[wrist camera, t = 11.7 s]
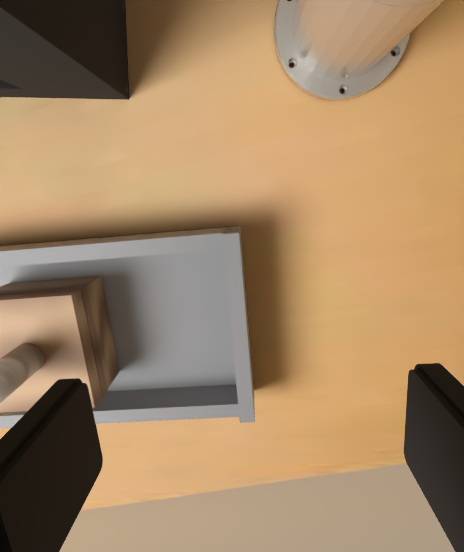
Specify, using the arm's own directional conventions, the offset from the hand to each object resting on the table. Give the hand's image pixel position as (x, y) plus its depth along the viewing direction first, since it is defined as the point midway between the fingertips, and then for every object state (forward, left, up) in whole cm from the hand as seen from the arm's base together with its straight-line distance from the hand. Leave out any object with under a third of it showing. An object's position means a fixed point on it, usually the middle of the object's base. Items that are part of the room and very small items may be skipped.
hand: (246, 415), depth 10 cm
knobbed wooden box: (+8, -22, -29) cm, 37 cm away
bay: (+8, -16, -30) cm, 35 cm away
